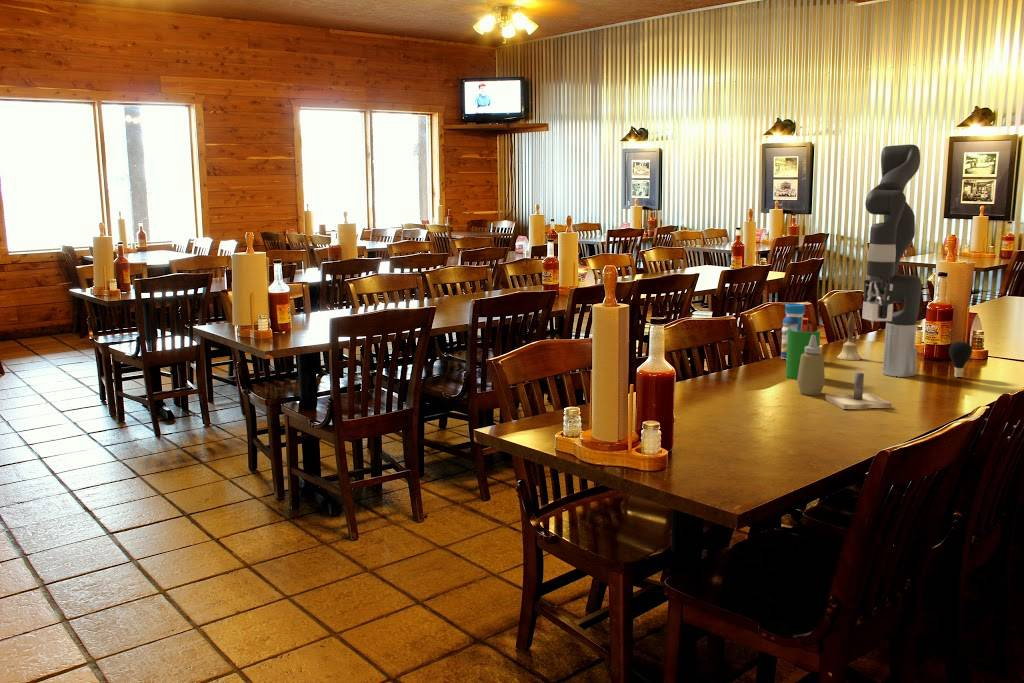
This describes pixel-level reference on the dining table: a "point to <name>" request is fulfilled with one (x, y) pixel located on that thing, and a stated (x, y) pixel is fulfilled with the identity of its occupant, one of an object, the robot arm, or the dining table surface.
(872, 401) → the stand
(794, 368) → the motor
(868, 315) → the collar
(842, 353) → the hand bell
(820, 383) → the squeeze bottle
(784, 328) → the beverage bottle
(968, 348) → the light bulb
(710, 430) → the dining table surface
